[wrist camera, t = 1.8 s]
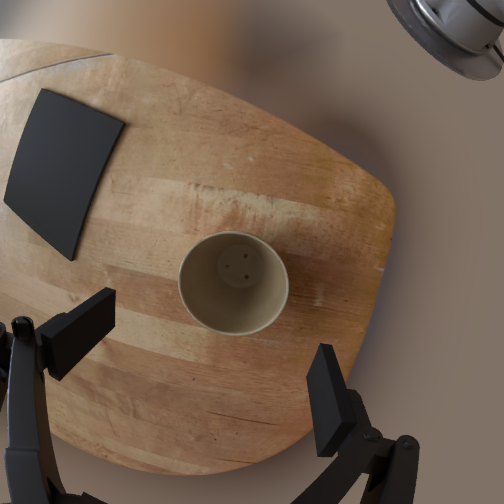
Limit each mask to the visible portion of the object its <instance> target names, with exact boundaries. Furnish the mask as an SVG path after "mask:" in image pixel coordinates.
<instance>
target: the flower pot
mask: <svg viewBox="0 0 504 504" xmlns="http://www.w3.org/2000/svg"><path fill="white" fill-rule="evenodd" d="M244 254H245V257H244ZM226 267H229V268H226ZM246 275H248V276H249V277H247V276H246ZM178 288H179V293H180V297H181V299H182V302H183V304H184V306H185V308H186V309H187V311H188V312H189V313H190V315H191V316H192V317H193V318H194V319H195V320H196V321H197V322H198V323H200V324H201V325H202V326H204V327H205V328H207V329H209V330H211V331H214V332H216V333H219V334H223V335H228V336H244V335H250V334H253V333H256V332H259V331H261V330H263V329H265V328H266V327H268V326H269V325H270V324H272V323H273V322H274V321H275V320H276V319H277V318H278V317H279V315H280V314H281V312H282V311H283V309H284V307H285V305H286V302H287V299H288V295H289V278H288V273H287V270H286V267H285V265H284V263H283V261H282V259H281V258H280V256H279V255H278V253H277V252H276V251H275V250H274V249H273V248H272V247H271V246H270V245H269V244H268V243H267V242H266V241H264V240H263V239H261V238H259V237H257V236H255V235H253V234H250V233H247V232H242V231H222V232H218V233H214V234H211V235H209V236H206V237H204V238H203V239H201V240H200V241H198V242H197V243H196V244H195V245H193V246H192V247H191V248H190V250H189V251H188V252H187V254H186V255H185V257H184V259H183V261H182V263H181V266H180V269H179V274H178Z"/></svg>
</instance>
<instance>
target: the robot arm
mask: <svg viewBox="0 0 504 504" xmlns="http://www.w3.org/2000/svg"><path fill="white" fill-rule="evenodd" d="M412 1H413V3H414V5H415V7H416V8H417V10H418V11H419V13H420V14H421V16H422V17H423V18H424V19H425V21H426V22H427V23H428V24H429V25H430V26H431V27H432V28H433V29H434V30H435V31H436V32H437V33H438V34H439V35H440V36H441V37H443V38H444V39H445V40H446V41H447V42H449V43H450V44H452V45H453V46H454V47H456V48H458V49H459V50H461V51H463V52H465V53H467V54H470V55H475V56H480V55H483V54H485V53H487V52H489V51H490V50H491V49H492V47H493V49H494V50H495V51H496V53H497V54H498V55H499V57H500V58H501V60H502V61H503V62H504V56H503V54H502V53H501V52H500V50H499V49H498V47H497V46H496V45H495V42H496V41H497V39H498V37H499V36H500V34H501V32H502V31H503V29H504V0H412ZM115 298H116V290H113V289H111V288H108V287H105V288H104V289H102V290H101V291H99V292H98V293H96V294H95V295H93V296H92V297H90V298H89V299H87V300H86V301H84V302H83V303H82V304H80V305H79V306H77V307H76V308H74V309H73V310H71V311H70V312H68V313H65V312H64V313H60V314H57V315H55V316H54V317H52V318H51V319H49V320H48V321H47V322H45V323H44V324H42V325H41V326H39V327H38V328H37V329H35V330H34V324H33V320H32V319H31V318H29V317H25V316H20V317H16V318H15V319H13V320H12V322H11V325H12V330H13V334H12V333H9V332H7V331H6V327H5V324H4V323H2V322H0V411H1V408H2V404H3V401H4V398H5V395H6V392H7V389H8V405H7V416H8V417H7V422H8V443H9V447H8V448H6V449H5V450H4V459H5V467H6V475H7V482H8V488H9V493H10V498H11V503H3V504H107V503H105V502H103V501H101V500H99V499H97V498H95V497H93V496H91V495H89V494H87V493H85V492H83V494H82V495H81V496H80V495H76V494H68V493H66V491H65V489H64V487H63V484H62V482H61V479H60V476H59V472H58V468H57V464H56V460H55V455H54V451H53V445H52V440H51V435H50V428H49V421H48V413H47V404H46V393H45V377H44V372H43V370H44V369H45V368H48V372H49V375H50V376H51V377H53V378H55V379H56V380H58V381H61V380H62V379H63V377H64V376H65V375H66V374H67V373H68V372H69V371H70V370H71V369H72V368H73V367H74V366H75V365H76V364H77V363H78V362H79V361H80V360H81V359H82V358H83V357H84V356H85V355H86V354H87V353H88V352H89V351H90V350H91V349H92V348H93V347H94V346H95V345H97V344H98V343H99V342H100V341H101V340H102V339H103V338H104V337H105V336H106V335H107V334H108V333H109V332H110V331H111V330H112V329H113V328H114V327H115ZM306 379H307V386H308V392H309V399H310V405H311V412H312V419H313V426H314V433H315V440H316V449H317V456H318V457H332V456H333V455H334V454H335V453H336V452H338V456H337V457H336V458H335V460H334V461H333V462H332V463H331V464H330V465H329V466H328V467H327V468H326V469H325V471H324V472H323V473H322V474H321V475H320V476H319V477H318V478H317V479H316V480H315V481H314V482H313V483H312V484H311V485H310V486H309V487H308V488H307V489H306V490H305V491H304V492H303V493H301V495H299V496H298V497H297V498H296V499H295V500H294V501H293V502H292V503H291V504H338V503H339V502H340V501H341V499H342V498H343V497H344V496H345V495H346V493H347V492H348V491H349V489H350V488H351V487H352V486H353V484H354V483H355V482H356V480H357V479H358V477H359V476H360V475H361V473H366V474H369V478H368V481H367V484H366V487H365V490H364V493H363V496H362V499H361V501H360V504H413V499H414V493H415V486H416V479H417V471H418V461H419V449H420V447H419V443H418V441H417V440H416V439H415V438H414V437H412V436H409V435H403V436H400V437H399V438H398V439H397V441H395V440H390V439H386V438H383V436H382V434H381V432H380V431H379V430H377V429H376V428H373V427H372V426H371V423H370V420H369V417H368V415H367V412H366V409H365V406H364V404H363V401H362V398H361V396H360V395H359V394H358V393H357V391H356V390H352V389H347V388H346V385H345V382H344V379H343V376H342V373H341V370H340V367H339V364H338V361H337V358H336V355H335V352H334V350H333V347H332V345H329V344H323V343H320V345H319V348H318V350H317V353H316V355H315V358H314V360H313V362H312V365H311V367H310V369H309V372H308V374H307V376H306Z"/></svg>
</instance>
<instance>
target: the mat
mask: <svg viewBox="0 0 504 504" xmlns="http://www.w3.org/2000/svg"><path fill="white" fill-rule="evenodd" d="M125 125H126V124H125V123H123V122H121V121H119V120H116V119H114V118H112V117H110V116H108V115H105V114H103V113H101V112H99V111H96V110H94V109H92V108H90V107H87V106H85V105H83V104H80V103H78V102H75V101H73V100H71V99H68V98H66V97H63V96H61V95H58V94H56V93H53V92H51V91H48V90H46V89H43V88H42V89H41V91H40V93H39V95H38V97H37V99H36V101H35V104H34V106H33V108H32V110H31V113H30V115H29V118H28V120H27V123H26V125H25V128H24V131H23V133H22V136H21V139H20V142H19V145H18V148H17V151H16V154H15V157H14V161H13V164H12V168H11V171H10V175H9V179H8V183H7V187H6V192H5V196H4V202H5V203H6V204H7V205H8V206H9V207H10V208H11V209H12V210H13V211H14V212H15V213H16V214H17V215H18V216H19V217H20V218H21V219H22V220H23V221H24V222H25V223H26V224H27V225H29V226H30V227H31V228H32V229H33V230H34V231H35V232H36V233H37V234H39V235H40V236H41V237H42V238H43V239H44V240H45V241H47V242H48V243H49V244H50V245H51V246H53V247H54V248H55V249H56V250H57V251H59V252H60V253H61V254H62V255H63V256H65V257H66V258H67V259H68V260H70V261H73V260H74V256H75V252H76V249H77V245H78V242H79V238H80V235H81V232H82V229H83V226H84V222H85V219H86V217H87V214H88V211H89V208H90V205H91V202H92V200H93V197H94V194H95V192H96V189H97V187H98V184H99V181H100V179H101V177H102V174H103V172H104V169H105V167H106V165H107V163H108V160H109V158H110V156H111V154H112V151H113V149H114V147H115V145H116V143H117V141H118V139H119V137H120V135H121V133H122V131H123V129H124V127H125Z"/></svg>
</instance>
